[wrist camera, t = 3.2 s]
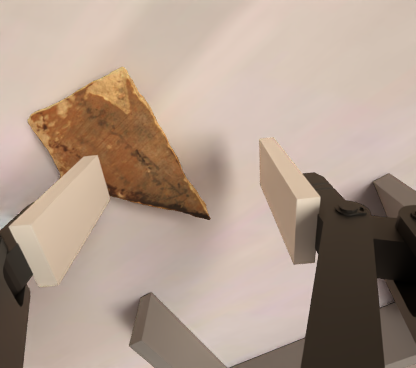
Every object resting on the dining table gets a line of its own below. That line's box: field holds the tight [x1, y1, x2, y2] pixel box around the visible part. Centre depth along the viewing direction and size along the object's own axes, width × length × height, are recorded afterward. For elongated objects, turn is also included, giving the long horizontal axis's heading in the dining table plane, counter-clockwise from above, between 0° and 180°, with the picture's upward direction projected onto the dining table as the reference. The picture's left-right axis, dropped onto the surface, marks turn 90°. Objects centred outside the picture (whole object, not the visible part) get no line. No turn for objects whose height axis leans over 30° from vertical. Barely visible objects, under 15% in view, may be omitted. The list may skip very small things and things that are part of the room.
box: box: [129, 173, 416, 368], centre depth 23 cm, size 14×22×4 cm, turn 122°
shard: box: [28, 67, 211, 220], centre depth 18 cm, size 11×8×2 cm
